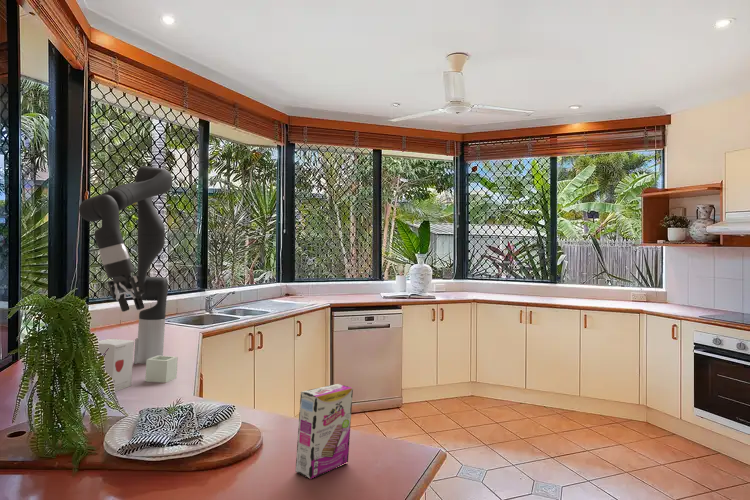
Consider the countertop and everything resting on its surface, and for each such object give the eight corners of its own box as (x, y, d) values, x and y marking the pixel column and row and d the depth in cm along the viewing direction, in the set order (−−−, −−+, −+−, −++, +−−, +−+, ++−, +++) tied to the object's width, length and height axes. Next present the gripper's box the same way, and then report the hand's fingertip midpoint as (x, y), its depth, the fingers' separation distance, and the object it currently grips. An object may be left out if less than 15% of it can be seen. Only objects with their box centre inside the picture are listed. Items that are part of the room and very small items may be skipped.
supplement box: (110, 395, 142) (114, 344, 142) (84, 392, 144) (88, 342, 144) (132, 388, 151) (135, 340, 151) (107, 385, 153) (110, 338, 153)
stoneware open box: (145, 384, 156) (146, 359, 156) (156, 379, 163) (157, 355, 163) (165, 385, 156) (167, 360, 156) (176, 380, 163) (177, 356, 163)
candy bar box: (311, 481, 94) (316, 396, 94) (294, 473, 97) (298, 391, 97) (350, 464, 103) (354, 387, 103) (333, 457, 106) (337, 382, 106)
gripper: (140, 254, 147) (157, 304, 149) (115, 259, 155) (132, 307, 157) (117, 260, 141) (134, 313, 143) (92, 266, 149) (109, 315, 151)
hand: (133, 309), depth 150 cm, fingers open, 8 cm apart
